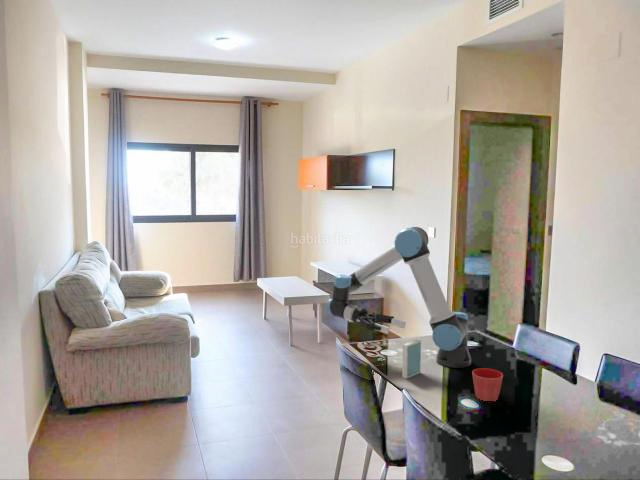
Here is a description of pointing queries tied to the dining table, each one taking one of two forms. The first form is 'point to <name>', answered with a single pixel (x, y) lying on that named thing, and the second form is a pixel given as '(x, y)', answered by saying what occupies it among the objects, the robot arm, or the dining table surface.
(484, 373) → the flower pot
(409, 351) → the tile
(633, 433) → the dining table surface
